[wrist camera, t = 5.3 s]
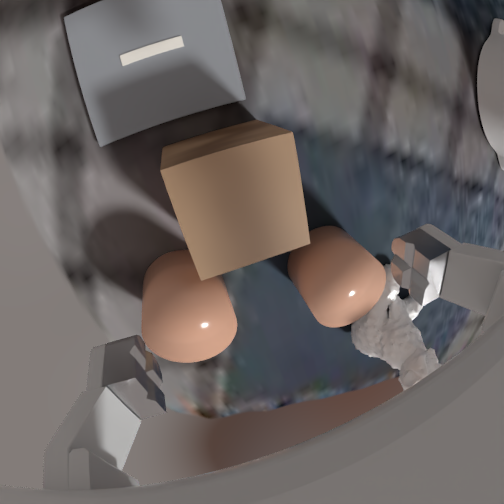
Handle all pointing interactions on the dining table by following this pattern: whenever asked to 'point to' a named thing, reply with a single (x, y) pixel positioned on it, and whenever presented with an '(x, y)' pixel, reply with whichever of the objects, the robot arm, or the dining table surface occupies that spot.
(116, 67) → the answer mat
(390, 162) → the dining table surface
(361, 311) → the rounded tan cylinder
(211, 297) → the peach rounded cylinder
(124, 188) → the dining table surface
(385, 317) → the seated beast figurine
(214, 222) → the walnut cube
